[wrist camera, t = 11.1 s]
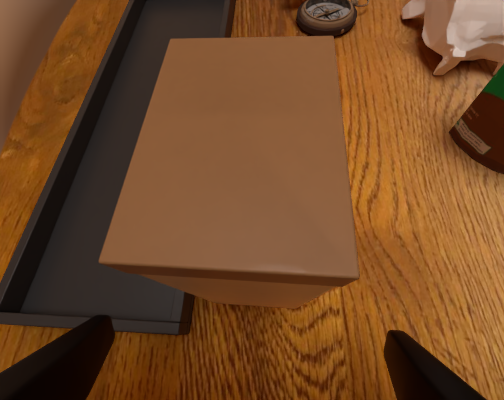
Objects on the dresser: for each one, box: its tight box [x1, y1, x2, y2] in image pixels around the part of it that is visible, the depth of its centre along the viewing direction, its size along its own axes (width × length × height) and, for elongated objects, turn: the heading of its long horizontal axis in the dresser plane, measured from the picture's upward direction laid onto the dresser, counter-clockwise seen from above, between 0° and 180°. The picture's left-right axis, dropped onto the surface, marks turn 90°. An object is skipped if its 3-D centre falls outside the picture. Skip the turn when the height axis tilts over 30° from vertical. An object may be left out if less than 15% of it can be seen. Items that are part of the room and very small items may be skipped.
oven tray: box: [0, 0, 236, 335], centre depth 22 cm, size 35×11×2 cm, turn 177°
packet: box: [99, 36, 360, 309], centre depth 12 cm, size 7×5×12 cm
